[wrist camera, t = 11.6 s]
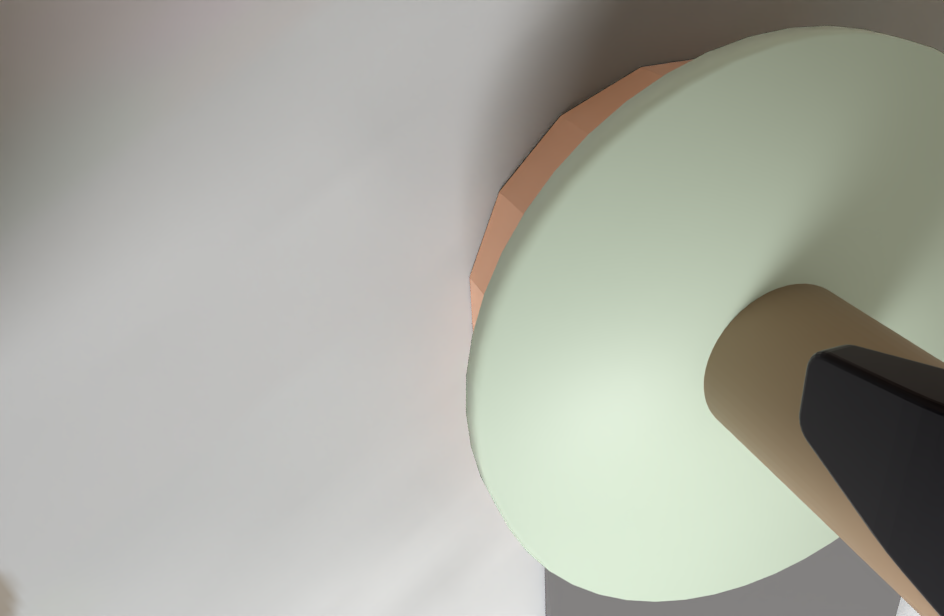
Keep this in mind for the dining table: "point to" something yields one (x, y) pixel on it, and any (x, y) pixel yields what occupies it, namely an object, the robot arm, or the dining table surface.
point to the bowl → (550, 169)
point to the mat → (754, 593)
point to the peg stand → (711, 313)
